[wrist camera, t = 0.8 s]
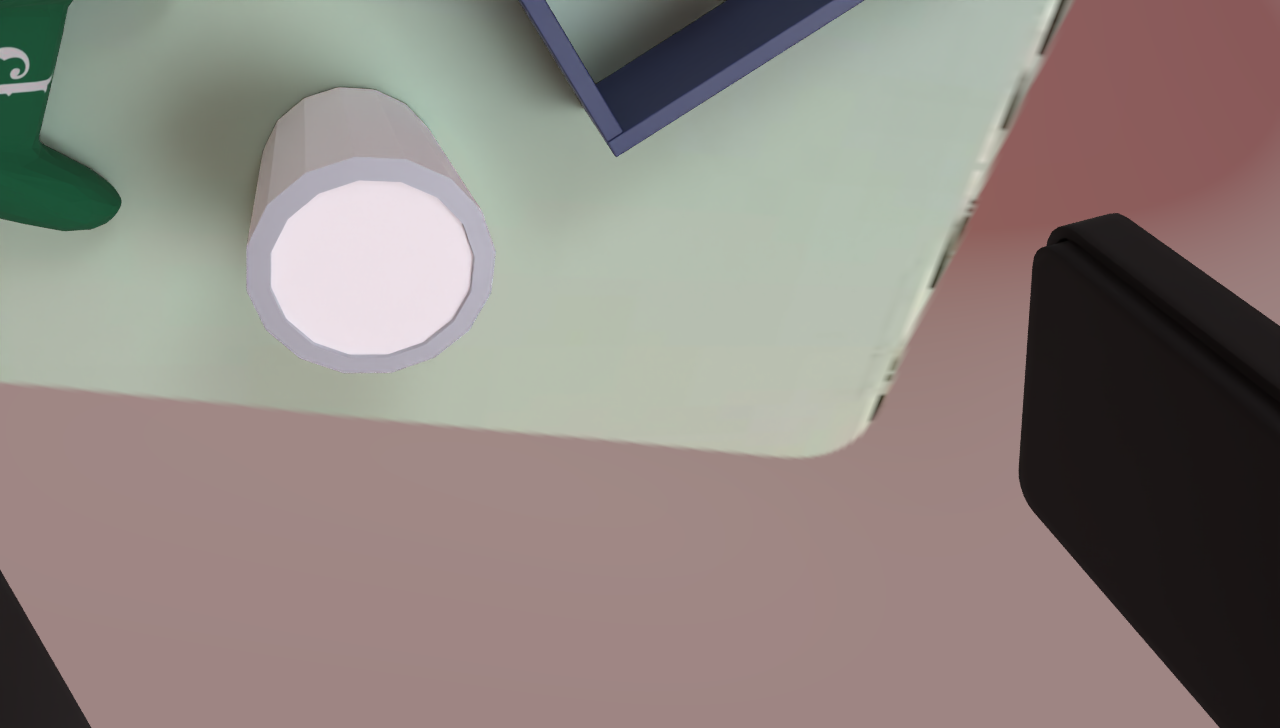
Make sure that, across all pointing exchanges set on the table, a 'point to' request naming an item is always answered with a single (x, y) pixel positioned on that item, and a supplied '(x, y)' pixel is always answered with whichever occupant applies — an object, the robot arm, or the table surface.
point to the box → (682, 62)
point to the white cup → (364, 236)
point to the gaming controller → (11, 122)
